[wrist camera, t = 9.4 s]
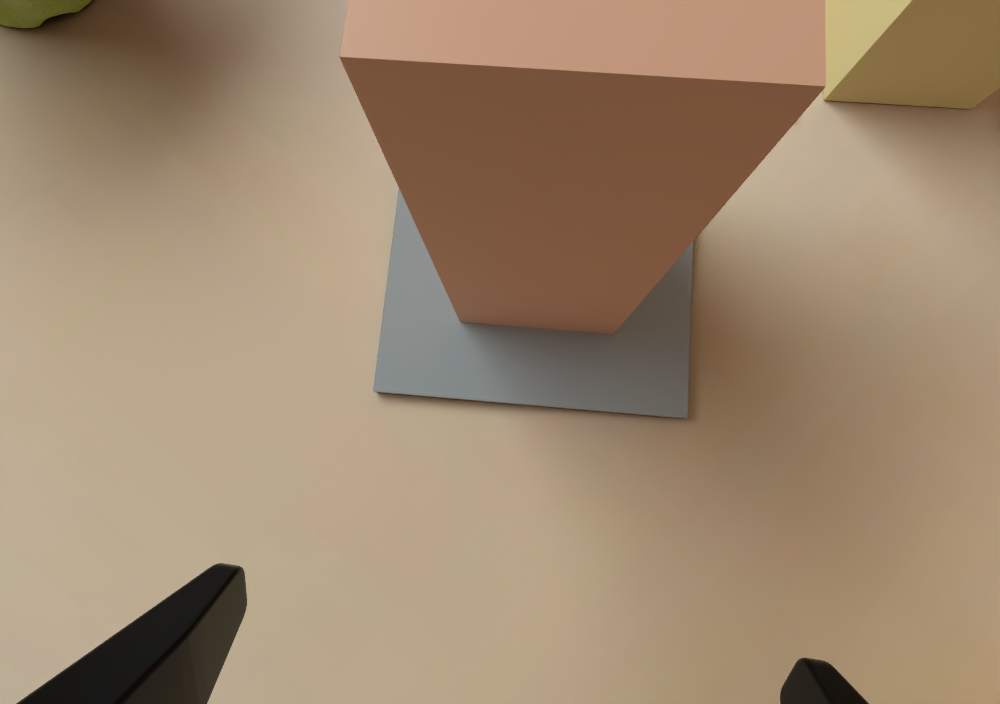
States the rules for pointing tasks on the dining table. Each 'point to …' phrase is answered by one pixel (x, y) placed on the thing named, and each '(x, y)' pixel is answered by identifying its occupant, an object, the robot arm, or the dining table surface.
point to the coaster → (531, 346)
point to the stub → (574, 136)
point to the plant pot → (35, 11)
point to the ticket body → (912, 51)
